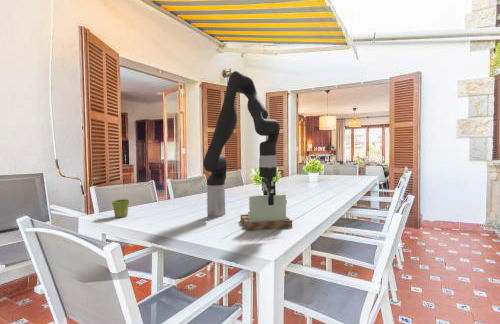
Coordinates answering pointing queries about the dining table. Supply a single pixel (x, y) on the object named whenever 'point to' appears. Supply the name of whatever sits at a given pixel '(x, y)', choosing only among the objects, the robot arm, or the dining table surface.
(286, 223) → the rack
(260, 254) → the dining table surface
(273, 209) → the panel
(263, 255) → the dining table surface
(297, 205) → the dining table surface
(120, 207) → the plant pot
